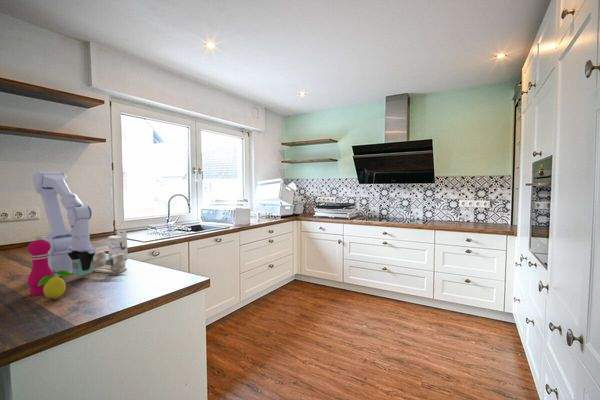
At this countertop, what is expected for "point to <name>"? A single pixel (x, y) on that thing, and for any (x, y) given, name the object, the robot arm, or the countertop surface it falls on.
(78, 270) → the block
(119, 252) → the ink box
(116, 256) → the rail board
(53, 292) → the lemon
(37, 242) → the pepper mill
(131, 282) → the countertop surface
